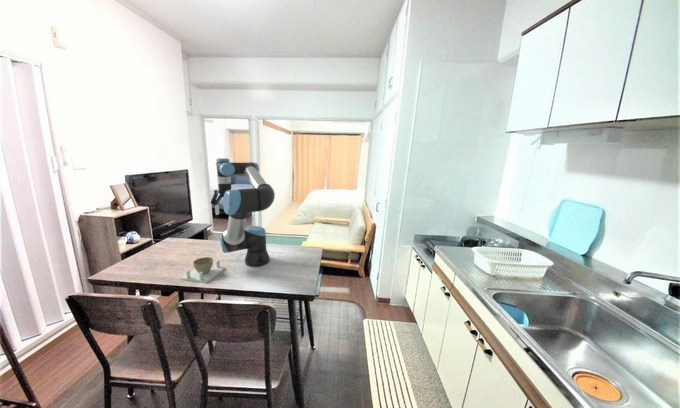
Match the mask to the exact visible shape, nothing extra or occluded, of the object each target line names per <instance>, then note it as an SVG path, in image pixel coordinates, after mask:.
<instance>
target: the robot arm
mask: <svg viewBox="0 0 680 408" xmlns="http://www.w3.org/2000/svg"><path fill="white" fill-rule="evenodd" d="M215 161H216V162H215V165H216V170H217V171H216V172H217V173H216V174H217V175H216V176H217V183H218V184H217V187H218V188H217V189H215V190H214V191H213V192H214V193H213V195H212V198H211V201H210V205H213V208H214V212H215V216H218V215H220V204H219V202H220V201H222V200H221V199H222V198H223V201H222V203H223V204H222V205H223V211H224V213H225V215H228V220H227V227H226V230H225V231H223V233H220V234H219V239H220V244H221V245H220V246H221V249H222V252H223V253H224V254H228V253H232V252H233V253H234V252H237V251H242V250H246V253H245V258H244V264H245V265H246V266H248V267H253V268H254V267H261V266H265V265H267V264H268V263H269V262H270V255H269V253H268V251H267V233H266V232H267V231H266V229H265V227H262V226H259V225H251V226H247V227H246V223H247V219H248V218H249V217H250V216H251V214H252V213H255V212H262V211H266V210H267V209H269V208H270V207H271V206H272V205H273V203H274V201H275V197H276V196H275V194H276V193H275V190H274V188H273V187H272V185H271V184H269V183H267V182H266V181H265V179H264V178H263V176H262V175H261V174H260V167H259V164H258V162H252V161H251V162H248V161H247V162H230V159H229V158H221V157H217V158H216V160H215ZM243 175H244V176H245V177H246V179H247V180H248V183H250V185H251V188H239V189H238V188H233V189H232V179H231V176H243Z"/></svg>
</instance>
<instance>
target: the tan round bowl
mask: <svg viewBox="0 0 680 408" xmlns="http://www.w3.org/2000/svg"><path fill="white" fill-rule="evenodd" d="M213 263H214V258H213V257H207V256H206V257H201V258H197V259H195V260H194V261H193V262H192V264H193V267H194V269H196V270H197V272H198V273H200V272H203V274H207V273H208V272H209V271H210V269H211V267H212V266H213Z"/></svg>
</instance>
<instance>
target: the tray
mask: <svg viewBox="0 0 680 408" xmlns="http://www.w3.org/2000/svg"><path fill="white" fill-rule="evenodd" d="M215 263H216V265H212V267H211V269H210V271H209V272H208V273H207V274H203V272H200V273H198V272H197V270H196V269H195V268H194V269H193V270H191V271H190V270H186V271H185V272H186V274H185V275H183V276H182V277H180V280H181V281H182V280H184V281H190V282H199V283H200V282H201V283H207V284H208V283H209V282H210V281H211V280H213V279H214V278H215V277H216V276H218V275H220V274H221V273H222V272H223V271H224V270H226V267H225V266H220V260H216V262H215Z"/></svg>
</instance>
